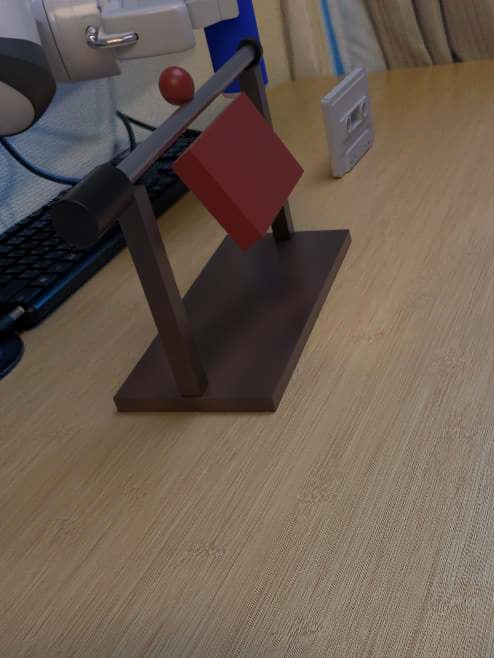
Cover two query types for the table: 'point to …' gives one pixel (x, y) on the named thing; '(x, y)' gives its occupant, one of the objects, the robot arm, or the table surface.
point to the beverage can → (232, 42)
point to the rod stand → (228, 308)
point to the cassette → (348, 121)
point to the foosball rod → (196, 162)
